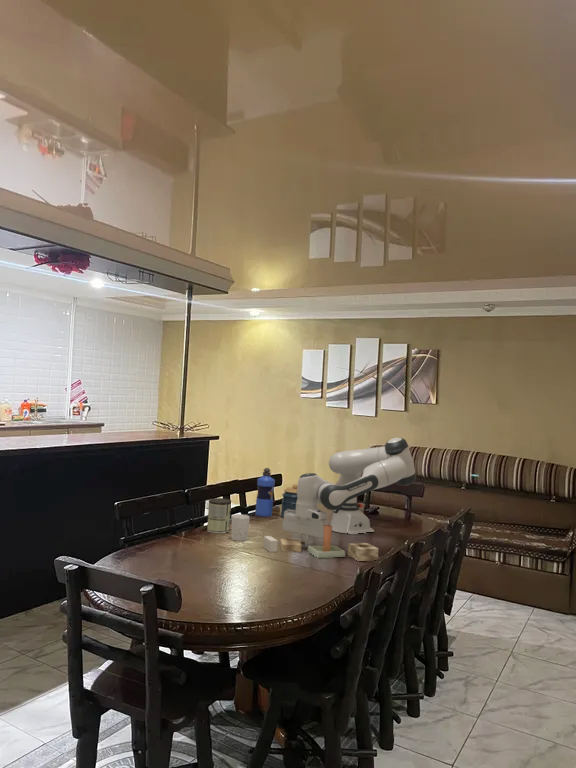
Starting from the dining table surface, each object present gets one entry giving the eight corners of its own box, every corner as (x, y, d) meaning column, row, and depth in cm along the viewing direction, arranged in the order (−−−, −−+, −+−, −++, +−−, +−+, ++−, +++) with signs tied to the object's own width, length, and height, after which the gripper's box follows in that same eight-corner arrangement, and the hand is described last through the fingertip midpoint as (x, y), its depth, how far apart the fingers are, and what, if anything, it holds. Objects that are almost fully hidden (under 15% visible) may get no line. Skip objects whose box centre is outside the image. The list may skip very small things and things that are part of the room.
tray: (333, 551, 243) (333, 545, 244) (344, 557, 234) (345, 551, 234) (307, 552, 239) (308, 545, 239) (318, 558, 230) (318, 552, 230)
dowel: (329, 552, 238) (331, 525, 239) (330, 554, 235) (332, 526, 235) (321, 551, 238) (323, 524, 238) (323, 553, 235) (325, 526, 235)
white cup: (251, 539, 254) (252, 516, 255) (242, 542, 247) (244, 518, 248) (235, 536, 258) (237, 513, 258) (226, 539, 251) (228, 516, 251)
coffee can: (204, 528, 269) (207, 497, 269) (226, 528, 272) (228, 498, 272) (208, 533, 259) (211, 502, 259) (231, 533, 262) (233, 502, 263)
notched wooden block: (298, 546, 248) (299, 539, 248) (301, 552, 238) (301, 545, 238) (279, 545, 247) (280, 538, 247) (281, 551, 237) (282, 544, 237)
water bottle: (274, 514, 313) (277, 468, 314) (269, 517, 304) (272, 469, 305) (258, 512, 316) (261, 466, 317) (252, 515, 307) (256, 468, 308)
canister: (282, 514, 316) (284, 481, 317) (306, 516, 315) (308, 483, 315) (278, 518, 304) (281, 484, 304) (303, 521, 302) (305, 487, 302)
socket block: (366, 554, 241) (367, 542, 241) (377, 561, 233) (378, 548, 233) (347, 555, 238) (348, 543, 238) (358, 561, 229) (359, 549, 229)
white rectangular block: (269, 546, 243) (270, 536, 243) (276, 551, 236) (277, 540, 236) (263, 546, 242) (263, 536, 242) (269, 552, 235) (270, 540, 235)
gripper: (280, 509, 247) (278, 541, 246) (324, 516, 237) (322, 550, 237) (287, 507, 252) (285, 539, 252) (330, 514, 243) (328, 547, 242)
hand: (303, 544), depth 244 cm, fingers closed
